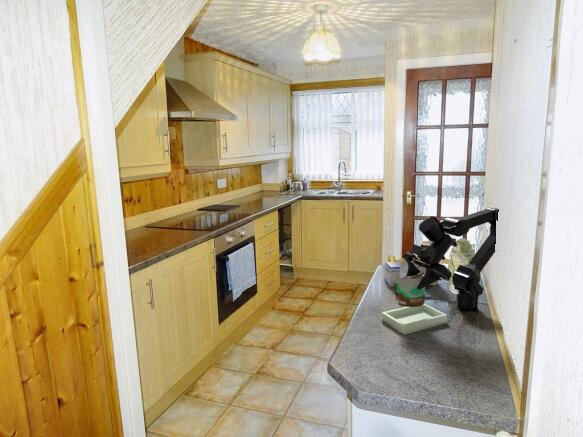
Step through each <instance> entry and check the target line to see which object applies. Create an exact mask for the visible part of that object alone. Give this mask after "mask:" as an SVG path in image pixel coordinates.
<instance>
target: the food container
mask: <svg viewBox="0 0 583 437" xmlns="http://www.w3.org/2000/svg"><path fill="white" fill-rule="evenodd" d="M425 274H426V273H425V272H423V271H422V274H418V275H410V276H407V277H406V276H404V277H400V278H398V277H396V279H395V283H396V286H395V287H396V291H397V295H396V296H397V302H398V305H399V306H401V307H419V306H422V305H423V304H424V303H425V296H426V290H425V287H424V288H422V289H420V290H419V289H418V288H417V287H418V285H419V283H420V282H421V280H422V279H423V277H424V276H425Z"/></svg>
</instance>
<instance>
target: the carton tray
mask: <svg viewBox="0 0 583 437" xmlns="http://www.w3.org/2000/svg"><path fill="white" fill-rule="evenodd" d="M381 322H383V323H384V324H387V325H388V326H389V327H391V328H393V329H394V330H395V331H397V332H398V333H400V334H401V335H408V334H409V335H410V334H412V333H415V332H419V331H422V330H427V329H429V328H430V329H431V328H434V327H437V326H441V325H444V324H445V325H446V324H447V323H448V314H447V313H444V312H443V311H441V310H438V309H437V308H435V307H432V306H431V305H428V304H426V303H425V302H424V304H423V305H422V306H419V307H405V306H402V307H400V308H395V309H391V310H386V311H383V312H381Z"/></svg>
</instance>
